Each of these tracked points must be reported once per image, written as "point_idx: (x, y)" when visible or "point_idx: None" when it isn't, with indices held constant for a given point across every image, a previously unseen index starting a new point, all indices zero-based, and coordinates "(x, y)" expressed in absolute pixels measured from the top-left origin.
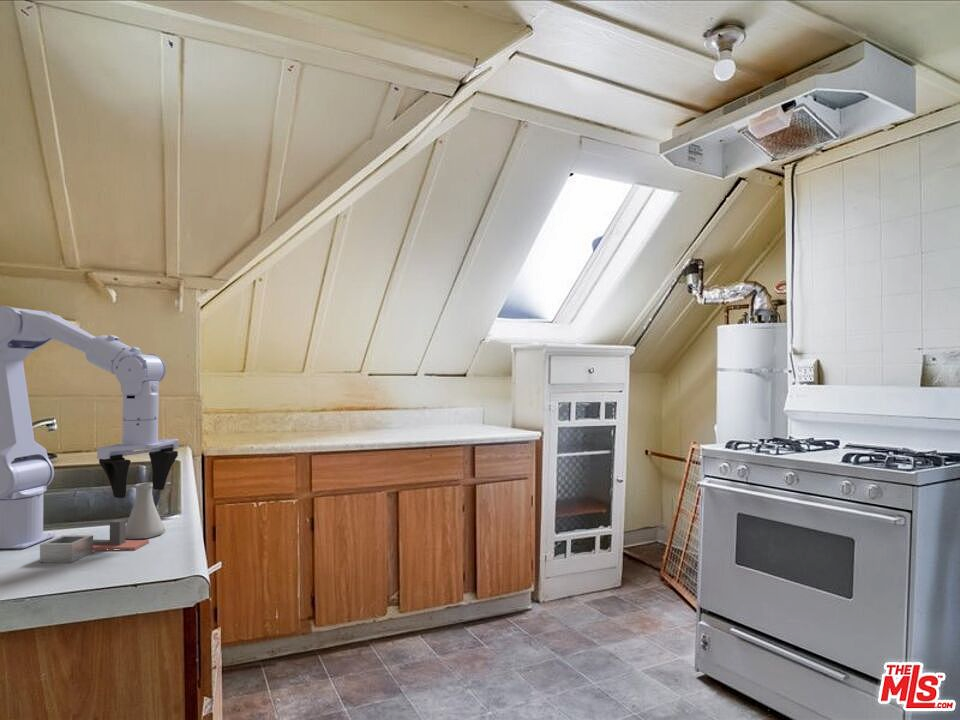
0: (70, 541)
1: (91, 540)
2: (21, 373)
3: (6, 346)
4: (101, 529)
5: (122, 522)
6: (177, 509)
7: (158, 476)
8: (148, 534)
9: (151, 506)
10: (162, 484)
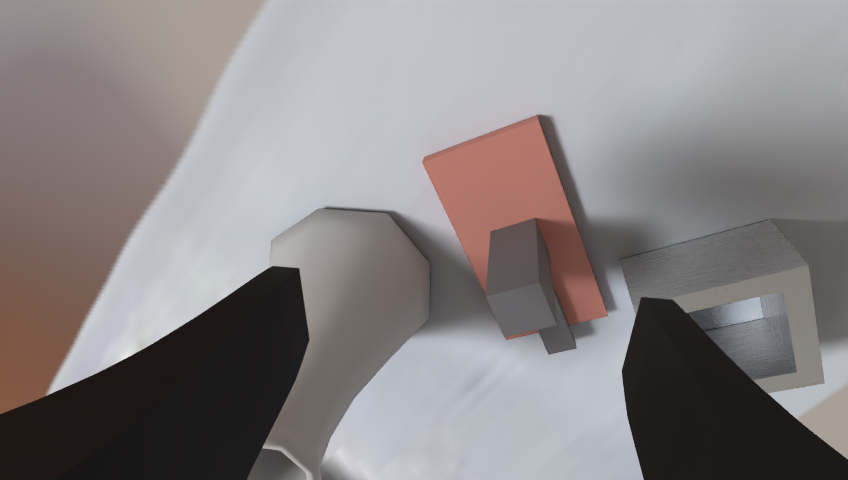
0: None
1: (641, 291)
2: None
3: None
4: (380, 451)
5: (514, 283)
6: None
7: (251, 381)
8: (376, 223)
9: None
10: (272, 285)
